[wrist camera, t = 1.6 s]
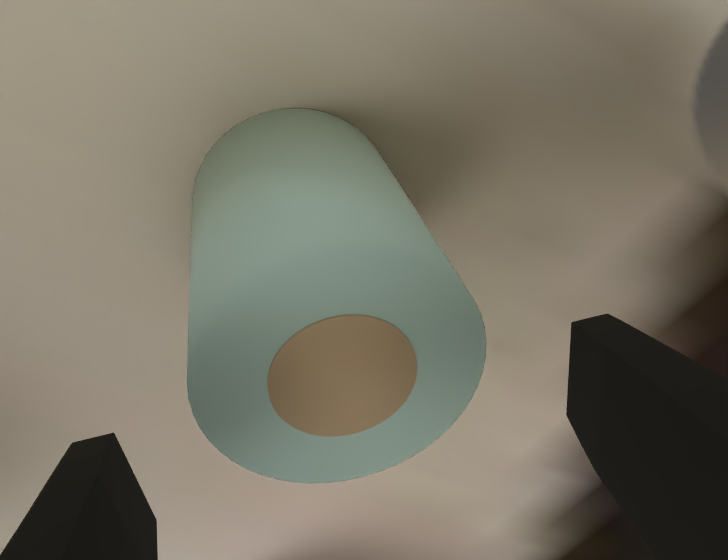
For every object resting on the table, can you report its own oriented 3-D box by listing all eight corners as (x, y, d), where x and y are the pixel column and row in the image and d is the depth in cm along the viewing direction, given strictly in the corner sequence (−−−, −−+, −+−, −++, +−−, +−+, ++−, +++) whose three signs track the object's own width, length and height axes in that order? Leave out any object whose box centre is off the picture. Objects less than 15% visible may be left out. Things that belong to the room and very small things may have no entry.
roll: (221, 308, 18) (230, 515, 12) (165, 131, 15) (144, 290, 9) (400, 267, 19) (491, 447, 13) (378, 89, 16) (483, 214, 10)
